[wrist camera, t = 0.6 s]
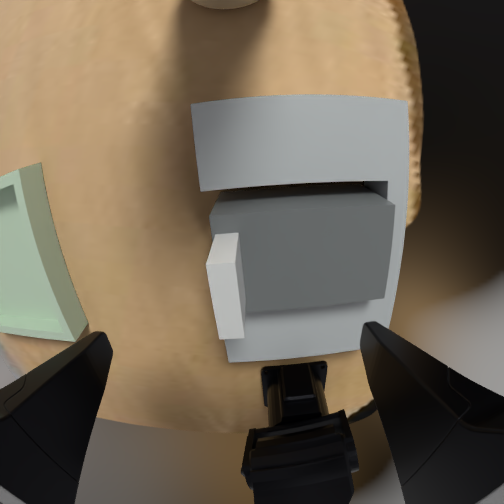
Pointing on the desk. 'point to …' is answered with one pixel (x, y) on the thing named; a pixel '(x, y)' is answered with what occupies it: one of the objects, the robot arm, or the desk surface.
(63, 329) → the tray
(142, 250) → the desk surface
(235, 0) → the plastic bottle
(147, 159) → the desk surface
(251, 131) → the bay housing
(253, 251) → the grey block with handle
